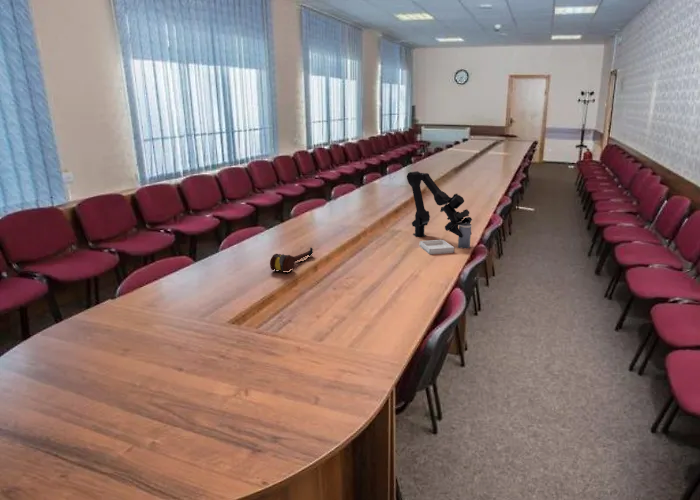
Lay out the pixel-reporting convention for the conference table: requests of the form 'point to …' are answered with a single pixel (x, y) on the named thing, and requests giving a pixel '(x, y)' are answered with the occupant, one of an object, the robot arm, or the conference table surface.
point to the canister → (464, 235)
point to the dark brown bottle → (286, 261)
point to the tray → (436, 247)
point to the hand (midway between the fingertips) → (466, 235)
